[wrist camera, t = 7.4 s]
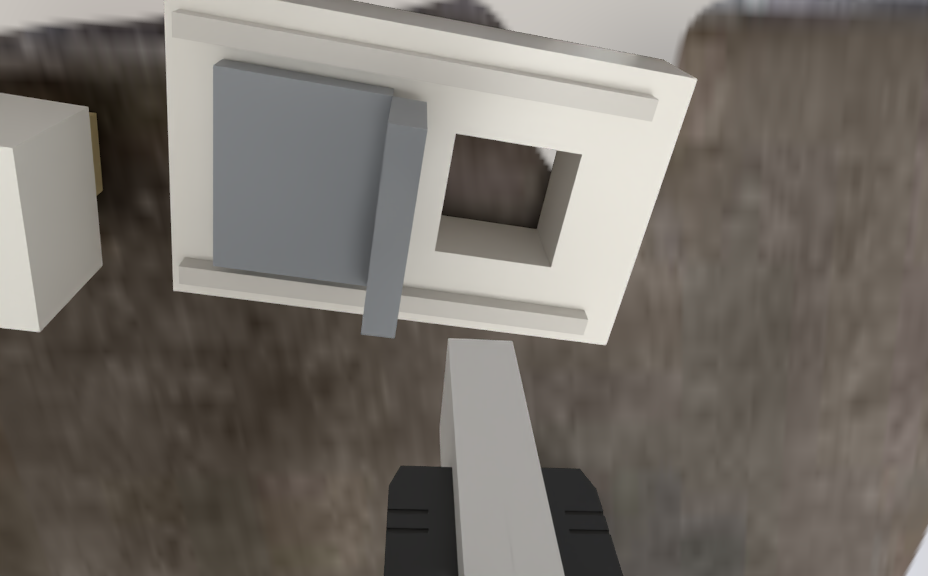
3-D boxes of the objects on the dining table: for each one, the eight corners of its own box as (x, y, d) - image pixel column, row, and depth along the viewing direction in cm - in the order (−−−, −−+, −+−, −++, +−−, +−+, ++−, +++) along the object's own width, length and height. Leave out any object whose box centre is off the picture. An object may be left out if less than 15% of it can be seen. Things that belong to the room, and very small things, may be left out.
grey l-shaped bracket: (221, 252, 26) (184, 312, 22) (222, 58, 23) (178, 88, 19) (398, 276, 27) (394, 338, 23) (426, 94, 24) (427, 129, 20)
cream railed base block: (201, 249, 31) (166, 300, 27) (199, -29, 25) (154, -20, 21) (587, 301, 33) (610, 355, 29) (662, 59, 28) (705, 83, 24)
